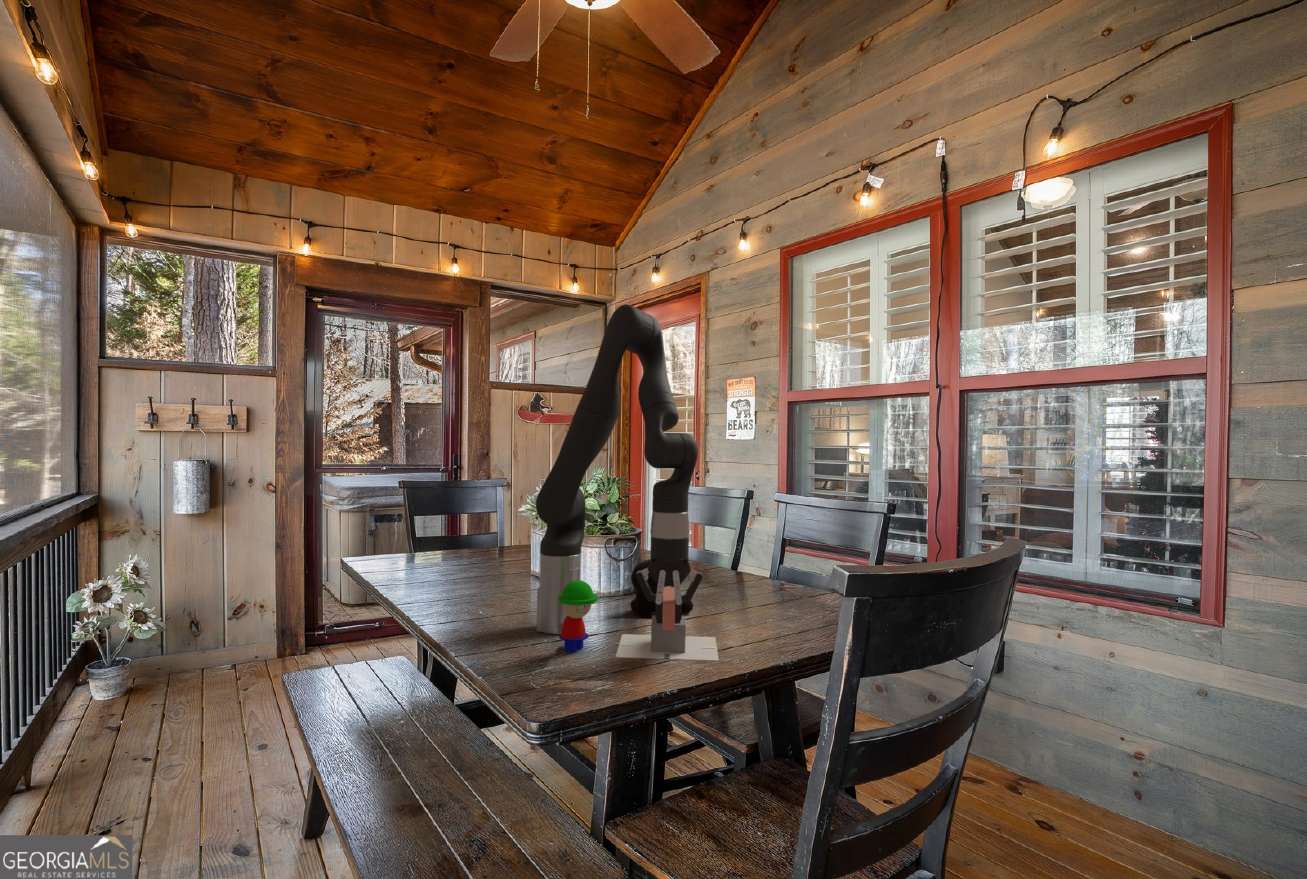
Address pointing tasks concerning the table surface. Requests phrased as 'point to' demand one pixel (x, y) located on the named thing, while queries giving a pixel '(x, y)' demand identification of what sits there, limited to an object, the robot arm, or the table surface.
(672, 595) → the red bar with frame
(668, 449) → the robot arm
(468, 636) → the table surface
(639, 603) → the figurine
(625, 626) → the table surface
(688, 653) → the lock board
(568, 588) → the toy
